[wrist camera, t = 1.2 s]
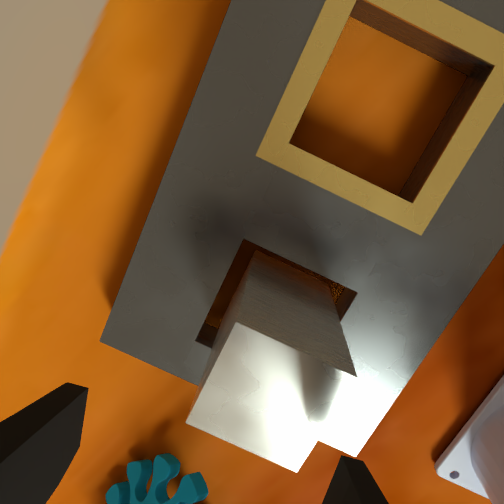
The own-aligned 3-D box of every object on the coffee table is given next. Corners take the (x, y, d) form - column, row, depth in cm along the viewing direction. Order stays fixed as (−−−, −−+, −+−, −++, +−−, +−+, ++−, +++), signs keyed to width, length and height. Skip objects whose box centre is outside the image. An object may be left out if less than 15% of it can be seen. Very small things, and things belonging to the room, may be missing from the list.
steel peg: (328, 283, 19) (357, 378, 11) (292, 347, 20) (296, 472, 13) (255, 249, 19) (236, 321, 11) (223, 315, 20) (185, 422, 12)
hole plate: (590, 68, 16) (636, 56, 14) (349, 428, 21) (356, 459, 19) (280, -92, 15) (280, -129, 13) (116, 322, 21) (97, 342, 19)
